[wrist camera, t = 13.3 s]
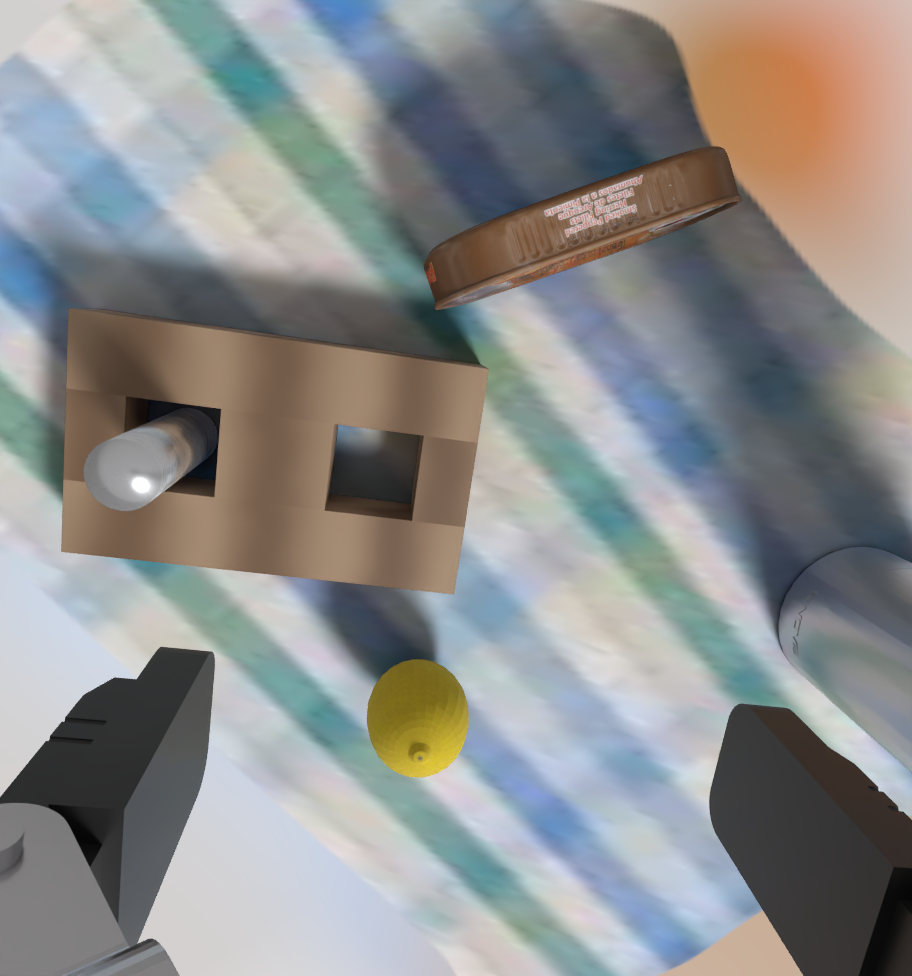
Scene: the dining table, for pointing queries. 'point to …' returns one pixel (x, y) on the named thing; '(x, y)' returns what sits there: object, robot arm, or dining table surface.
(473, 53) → the dining table surface
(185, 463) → the peg
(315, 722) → the dining table surface
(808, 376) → the dining table surface
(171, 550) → the hole block
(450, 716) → the lemon
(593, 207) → the tin
